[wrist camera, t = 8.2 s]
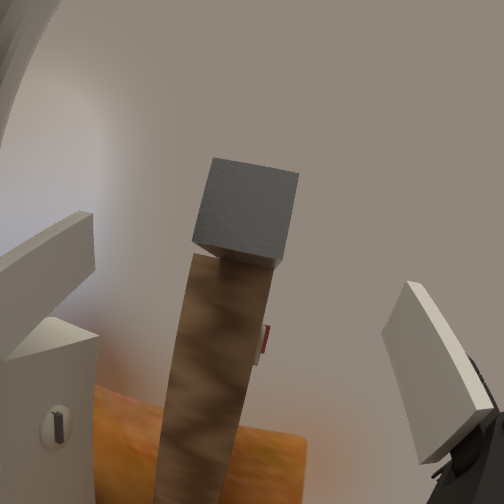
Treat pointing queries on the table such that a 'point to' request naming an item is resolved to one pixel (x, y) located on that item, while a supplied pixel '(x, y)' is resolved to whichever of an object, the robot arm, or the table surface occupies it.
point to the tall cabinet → (210, 377)
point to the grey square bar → (246, 213)
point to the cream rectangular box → (48, 417)
